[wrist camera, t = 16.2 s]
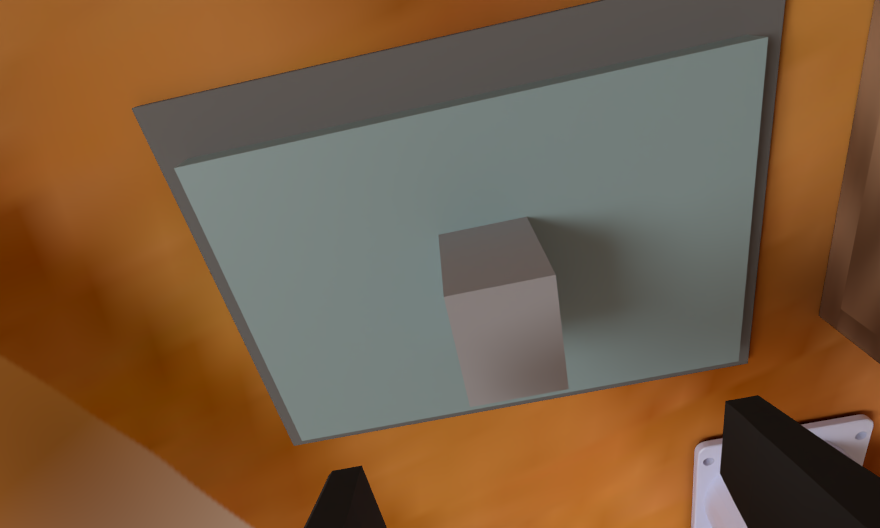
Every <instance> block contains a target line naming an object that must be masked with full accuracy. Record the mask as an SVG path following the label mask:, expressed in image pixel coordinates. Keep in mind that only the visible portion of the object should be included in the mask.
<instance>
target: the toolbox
mask: <svg viewBox="0 0 880 528" xmlns="http://www.w3.org/2000/svg"><path fill="white" fill-rule="evenodd" d="M819 316H820V317H821V318H822V319H824V320H825V321H826V322H827V323H829V324H830V325H831V326H833V327H834V328H835V329H836V330H838V331H839V332H840V333H841V334H843V335H844V336H845V337H846V338H848V339H849V340H850V341H852V342H853V343H854V344H855V345H857V346H858V347H859V348H860V349H862V350H863V351H864V352H866V353H867V354H868V355H869V356H871V357H872V358H873V359H874V360H876V361H877V362H878V363H879V364H880V0H875V2H874V8H873V13H872V19H871V25H870V30H869V36H868V41H867V47H866V53H865V58H864V64H863V70H862V75H861V81H860V86H859V92H858V98H857V103H856V109H855V115H854V120H853V126H852V131H851V137H850V143H849V148H848V154H847V160H846V165H845V171H844V176H843V182H842V188H841V193H840V199H839V205H838V210H837V216H836V221H835V227H834V233H833V238H832V244H831V250H830V255H829V261H828V266H827V272H826V278H825V283H824V289H823V295H822V300H821V306H820V311H819Z"/></svg>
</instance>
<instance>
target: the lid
mask: <svg viewBox="0 0 880 528" xmlns="http://www.w3.org/2000/svg"><path fill="white" fill-rule="evenodd" d="M767 45H768V37H764V36H755V35H745V36H740V37H736V38H731V39H727V40H722V41H718V42H713V43H709V44H704V45H700V46H695V47H691V48H686V49H682V50H677V51H673V52H668V53H664V54H659V55H655V56H650V57H645V58H641V59H636V60H632V61H627V62H623V63H618V64H614V65H609V66H605V67H600V68H596V69H591V70H587V71H582V72H578V73H573V74H569V75H564V76H560V77H555V78H551V79H546V80H542V81H537V82H533V83H528V84H524V85H519V86H515V87H510V88H506V89H501V90H497V91H492V92H488V93H483V94H479V95H474V96H469V97H465V98H460V99H456V100H451V101H447V102H442V103H438V104H433V105H429V106H424V107H420V108H415V109H411V110H406V111H402V112H397V113H393V114H388V115H384V116H379V117H375V118H370V119H366V120H361V121H357V122H352V123H348V124H343V125H339V126H334V127H330V128H325V129H321V130H316V131H312V132H307V133H303V134H298V135H293V136H289V137H284V138H280V139H275V140H271V141H266V142H262V143H257V144H253V145H248V146H244V147H239V148H235V149H230V150H226V151H221V152H217V153H212V154H208V155H203V156H199V157H194V158H190V159H186V160H185V161H184V162H182V163H181V164H179V165H178V166H176V167H175V168H174V169H175V171H176V174H177V176H178V178H179V180H180V182H181V184H182V186H183V189H184V191H185V193H186V195H187V197H188V199H189V201H190V203H191V206H192V208H193V210H194V212H195V214H196V216H197V218H198V220H199V223H200V225H201V227H202V229H203V231H204V233H205V235H206V237H207V240H208V242H209V244H210V246H211V248H212V250H213V252H214V255H215V257H216V259H217V261H218V263H219V265H220V267H221V269H222V272H223V274H224V276H225V278H226V280H227V282H228V284H229V286H230V289H231V291H232V293H233V295H234V297H235V299H236V301H237V304H238V306H239V308H240V310H241V312H242V314H243V316H244V318H245V321H246V323H247V325H248V327H249V329H250V331H251V333H252V335H253V338H254V340H255V342H256V344H257V346H258V348H259V350H260V352H261V355H262V357H263V359H264V361H265V363H266V365H267V367H268V370H269V372H270V374H271V376H272V378H273V380H274V382H275V384H276V387H277V389H278V391H279V393H280V395H281V397H282V399H283V401H284V404H285V406H286V408H287V410H288V412H289V414H290V416H291V419H292V421H293V423H294V425H295V427H296V429H297V431H298V433H299V436H300V438H301V440H302V441H305V440H311V439H316V438H321V437H327V436H332V435H338V434H343V433H349V432H354V431H360V430H365V429H371V428H376V427H382V426H387V425H393V424H398V423H403V422H409V421H414V420H420V419H425V418H431V417H436V416H442V415H447V414H453V413H458V412H464V411H469V410H475V409H480V408H485V407H491V406H496V405H502V404H507V403H513V402H518V401H524V400H529V399H535V398H540V397H546V396H551V395H557V394H562V393H568V392H573V391H578V390H584V389H589V388H595V387H600V386H606V385H611V384H617V383H622V382H628V381H633V380H639V379H644V378H650V377H655V376H660V375H666V374H671V373H677V372H682V371H688V370H693V369H699V368H704V367H710V366H715V365H721V364H726V363H732V362H737V361H739V352H740V341H741V330H742V319H743V308H744V297H745V286H746V275H747V264H748V253H749V242H750V231H751V220H752V209H753V198H754V188H755V177H756V166H757V155H758V144H759V133H760V122H761V111H762V100H763V89H764V78H765V67H766V56H767Z"/></svg>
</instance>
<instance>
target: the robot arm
mask: <svg viewBox="0 0 880 528" xmlns="http://www.w3.org/2000/svg"><path fill="white" fill-rule="evenodd" d="M872 429H873V421H872V420H871V419H870V418H869V417H868V416H866V415H863V414H861V415H853V416H847V417H841V418H836V419H830V420H824V421H818V422H813V423H807V424H799V423H798V422H796V421H795V420H793V419H792V418H790V417H789V416H788V415H786V414H785V413H783V412H782V411H780V410H779V409H777V408H776V407H774V406H773V405H771V404H770V403H769V402H767V401H766V400H764V399H763V398H761V397H760V396H758V395H757V396H752V397H746V398H741V399H735V400H729V401H726V403H725V415H724V428H723V438H720V439H714V440H709V441H704V442H701V443H699V444H698V445H697V446H696V448H695V454H694V476H693V498H692V520H691V528H880V477H878V476H877V475H875V474H873V473H872V472H870V471H869V470H867V469H866V468H864V467H863V462H864V458H865V455H866V451H867V447H868V444H869V440H870V436H871V433H872ZM304 528H387V527H386V525H385V522H384V520H383V517H382V515H381V513H380V510H379V508H378V505H377V503H376V500H375V498H374V495H373V493H372V490H371V488H370V485H369V483H368V480H367V478H366V475H365V473H364V470H363V468H362V466H358V467H352V468H347V469H341V470H335V471H332V472H331V474H330V475H329V476H328V479H327V481H326V483H325V485H324V487H323V489H322V491H321V493H320V496H319V498H318V500H317V502H316V504H315V506H314V508H313V510H312V512H311V514H310V516H309V519H308V521H307V523H306V525H305V527H304Z"/></svg>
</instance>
